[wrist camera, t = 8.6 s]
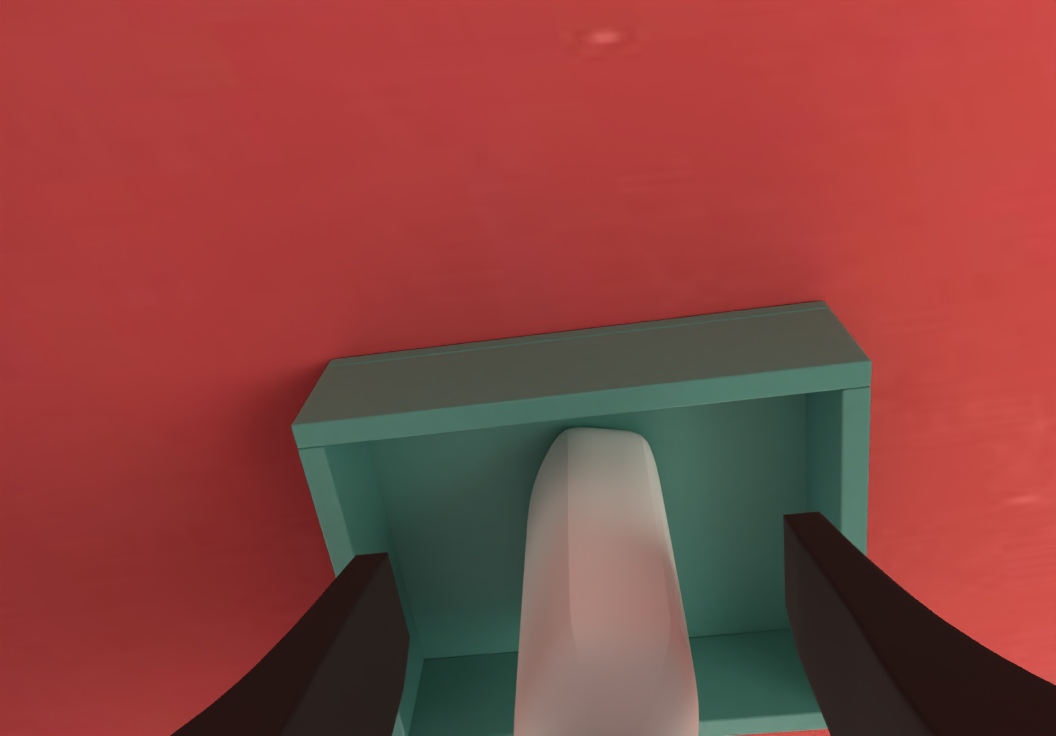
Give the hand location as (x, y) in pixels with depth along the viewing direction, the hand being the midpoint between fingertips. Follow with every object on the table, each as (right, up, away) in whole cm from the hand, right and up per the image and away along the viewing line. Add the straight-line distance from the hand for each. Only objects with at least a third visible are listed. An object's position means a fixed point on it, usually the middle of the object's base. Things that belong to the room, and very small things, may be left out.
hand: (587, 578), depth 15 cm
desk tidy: (+1, 0, +8) cm, 8 cm away
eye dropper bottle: (+1, 0, +7) cm, 7 cm away
